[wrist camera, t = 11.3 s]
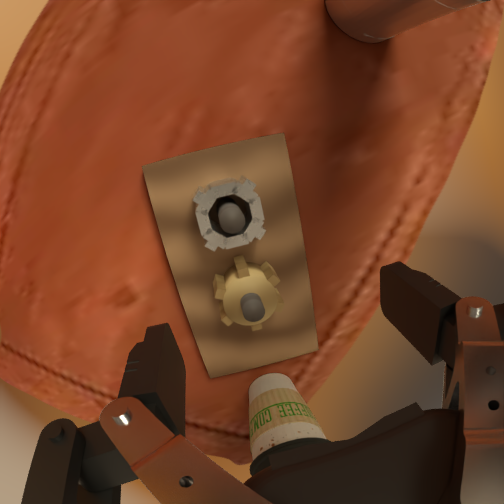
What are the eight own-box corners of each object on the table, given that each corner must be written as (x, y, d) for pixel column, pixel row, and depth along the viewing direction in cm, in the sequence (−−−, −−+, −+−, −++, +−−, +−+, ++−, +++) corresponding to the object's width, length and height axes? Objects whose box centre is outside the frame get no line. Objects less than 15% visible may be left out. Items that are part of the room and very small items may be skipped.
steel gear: (191, 186, 30) (190, 192, 26) (248, 173, 30) (255, 176, 26) (205, 241, 32) (206, 254, 28) (260, 227, 32) (268, 238, 28)
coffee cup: (282, 350, 39) (319, 439, 25) (316, 389, 43) (353, 467, 29) (220, 387, 40) (233, 479, 26) (260, 421, 43) (281, 502, 29)
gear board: (144, 165, 30) (127, 170, 23) (280, 133, 31) (303, 129, 24) (209, 371, 39) (213, 412, 32) (314, 343, 40) (335, 379, 33)
